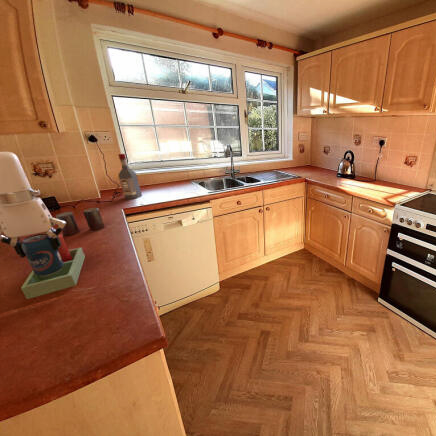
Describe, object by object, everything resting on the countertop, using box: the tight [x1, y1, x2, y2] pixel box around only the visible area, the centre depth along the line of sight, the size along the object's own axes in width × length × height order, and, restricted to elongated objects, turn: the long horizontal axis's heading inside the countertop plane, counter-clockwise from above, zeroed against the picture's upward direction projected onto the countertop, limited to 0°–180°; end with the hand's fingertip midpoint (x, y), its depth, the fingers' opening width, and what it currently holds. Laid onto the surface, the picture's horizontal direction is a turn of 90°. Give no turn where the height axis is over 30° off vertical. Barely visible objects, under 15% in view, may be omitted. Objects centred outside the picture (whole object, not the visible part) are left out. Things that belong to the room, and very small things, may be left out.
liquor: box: [118, 153, 143, 200], centre depth 168 cm, size 9×9×30 cm
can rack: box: [20, 247, 86, 300], centre depth 83 cm, size 12×22×5 cm, turn 32°
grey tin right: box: [82, 207, 106, 232], centre depth 121 cm, size 6×6×10 cm
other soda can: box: [48, 233, 73, 262], centre depth 86 cm, size 7×7×12 cm
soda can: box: [21, 233, 63, 276], centre depth 76 cm, size 7×7×12 cm
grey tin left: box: [55, 211, 81, 237], centre depth 116 cm, size 6×6×10 cm
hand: (41, 251), depth 76 cm, fingers closed on soda can, 7 cm apart
